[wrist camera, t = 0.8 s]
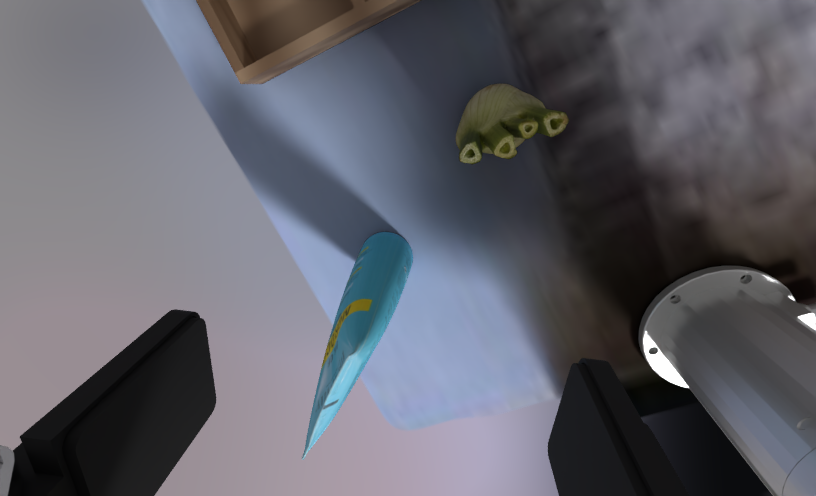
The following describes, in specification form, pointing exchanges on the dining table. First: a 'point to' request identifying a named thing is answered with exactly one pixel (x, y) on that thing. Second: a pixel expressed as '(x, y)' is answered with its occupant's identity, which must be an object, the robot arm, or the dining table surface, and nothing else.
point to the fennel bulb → (503, 122)
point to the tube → (359, 323)
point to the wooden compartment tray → (288, 30)
